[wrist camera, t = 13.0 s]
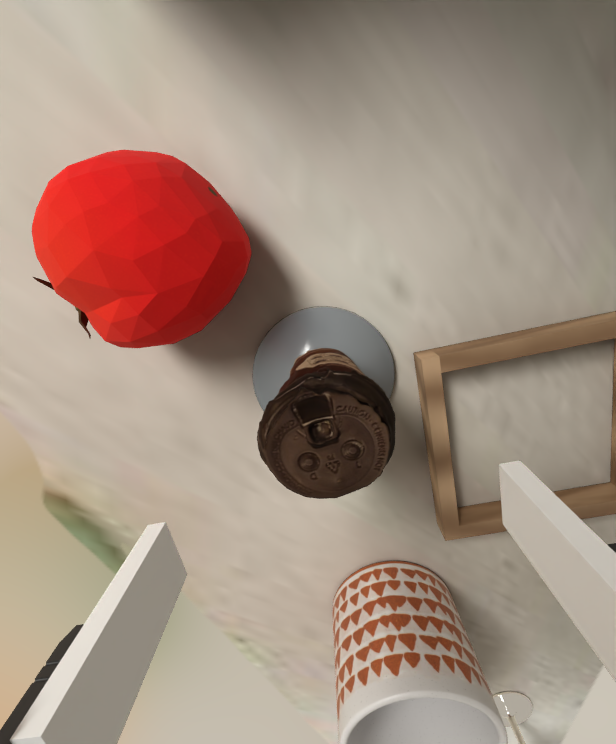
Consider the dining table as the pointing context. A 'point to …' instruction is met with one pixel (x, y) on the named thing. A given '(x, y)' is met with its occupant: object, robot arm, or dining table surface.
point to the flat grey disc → (320, 332)
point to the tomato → (139, 246)
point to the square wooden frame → (430, 386)
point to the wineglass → (513, 710)
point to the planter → (407, 663)
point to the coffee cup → (327, 427)
